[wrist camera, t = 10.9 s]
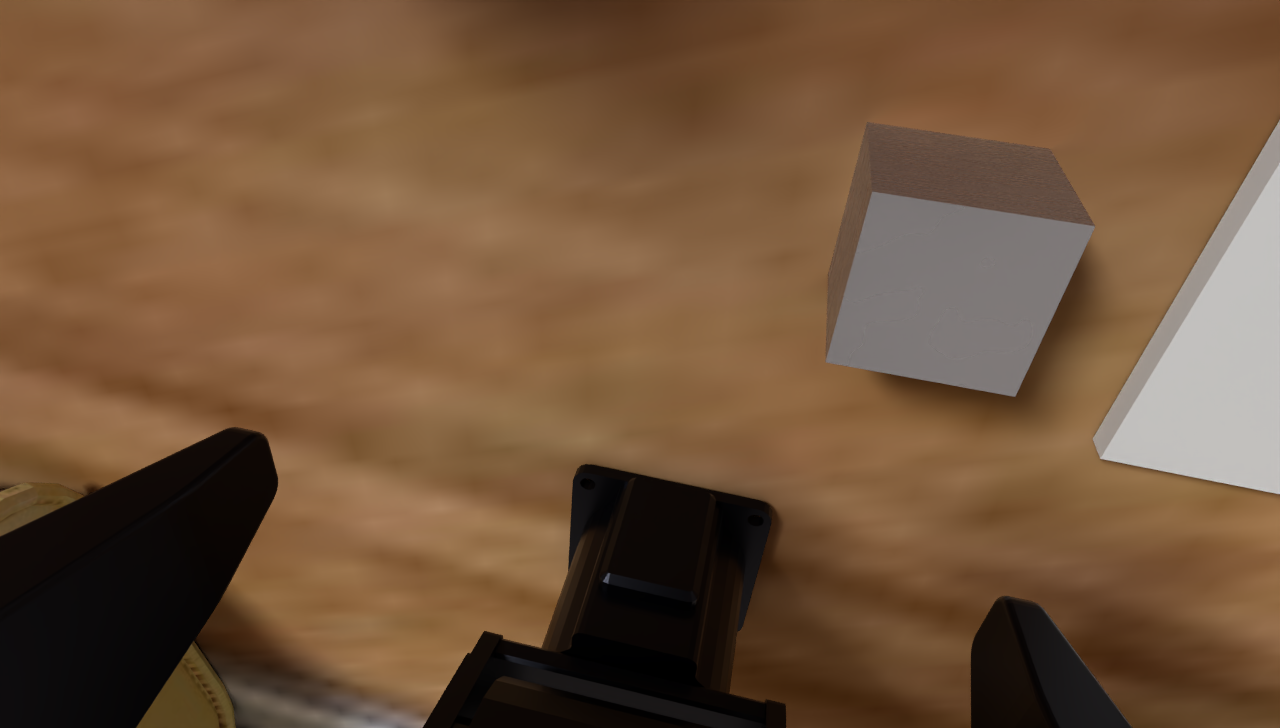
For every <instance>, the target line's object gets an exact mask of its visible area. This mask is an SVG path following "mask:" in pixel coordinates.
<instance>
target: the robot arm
mask: <svg viewBox="0 0 1280 728" xmlns="http://www.w3.org/2000/svg"><path fill="white" fill-rule="evenodd" d="M586 478H588V479H591V480H593V481H589V480H587V479H586ZM277 487H278V476H277V472H276V468H275V465H274V461H273V457H272V453H271V450H270V446H269V442H268V440H267V438H266V437H265V436H264V434H262V433H260V432H257V431H252V430H248V429H243V428H238V427H232V428H228V429H225V430H223V431H221V432H218V433H216V434H214V435H212V436H210V437H208V438H206V439H204V440H202V441H200V442H197V443H195V444H193V445H191V446H189V447H187V448H185V449H183V450H181V451H178V452H176V453H174V454H172V455H170V456H168V457H166V458H164V459H162V460H160V461H157V462H155V463H153V464H151V465H149V466H147V467H145V468H143V469H141V470H139V471H136V472H134V473H132V474H130V475H128V476H126V477H124V478H122V479H120V480H117V481H115V482H113V483H111V484H109V485H107V486H105V487H103V488H101V489H99V490H96V491H94V492H92V493H90V494H88V495H86V496H84V497H82V498H80V499H78V500H75V501H73V502H71V503H69V504H67V505H65V506H63V507H61V508H59V509H56V510H54V511H52V512H50V513H48V514H46V515H44V516H42V517H40V518H38V519H35V520H33V521H31V522H29V523H27V524H25V525H23V526H21V527H19V528H17V529H14V530H12V531H10V532H8V533H6V534H4V535H2V536H0V728H136V727H137V726H138V724H139V723H140V721H141V720H142V718H143V717H144V715H145V714H146V712H147V711H148V709H149V708H150V706H151V705H152V703H153V702H154V700H155V699H156V697H157V696H158V694H159V693H160V691H161V690H162V688H163V687H164V685H165V684H166V682H167V681H168V679H169V678H170V676H171V675H172V673H173V672H174V670H175V669H176V667H177V666H178V664H179V663H180V661H181V660H182V658H183V656H184V655H185V653H186V652H187V650H188V649H189V647H190V646H191V644H192V643H193V641H194V640H195V638H196V637H197V635H198V634H199V632H200V631H201V629H202V628H203V626H204V625H205V623H206V622H207V620H208V619H209V617H210V616H211V614H212V612H213V611H214V609H215V608H216V606H217V604H218V603H219V601H220V600H221V598H222V596H223V594H224V592H225V591H226V589H227V587H228V585H229V584H230V582H231V580H232V578H233V576H234V574H235V572H236V570H237V568H238V566H239V564H240V562H241V561H242V559H243V557H244V555H245V553H246V551H247V549H248V547H249V545H250V543H251V541H252V539H253V538H254V536H255V534H256V532H257V530H258V528H259V526H260V524H261V522H262V520H263V518H264V516H265V515H266V513H267V511H268V509H269V507H270V505H271V503H272V501H273V499H274V497H275V495H276V491H277ZM752 515H758V516H761V517H754V516H752ZM771 521H772V509H771V508H770V506H769V505H768V504H766V503H765V502H762V501H759V500H754V499H750V498H745V497H740V496H736V495H731V494H726V493H722V492H717V491H712V490H708V489H703V488H698V487H694V486H689V485H684V484H680V483H675V482H670V481H665V480H661V479H656V478H651V477H647V476H642V475H637V474H633V473H628V472H623V471H619V470H614V469H609V468H605V467H600V466H595V465H588V464H585V465H582V466H580V467H579V468H578V469H577V471H576V474H575V477H574V479H573V490H572V509H571V528H570V547H569V566H568V574H567V577H566V580H565V583H564V586H563V588H562V591H561V594H560V597H559V600H558V603H557V605H556V608H555V611H554V614H553V617H552V620H551V622H550V625H549V628H548V631H547V634H546V637H545V639H544V642H543V645H542V648H539V647H535V646H531V645H527V644H522V643H518V642H514V641H510V640H506V639H503V635H499V634H495V633H491V632H487V631H484V632H483V634H482V635H481V637H480V639H479V640H478V642H477V644H476V646H475V647H474V649H473V651H472V652H471V653H467V655H466V656H465V658H464V660H463V661H462V663H461V665H460V666H459V668H458V670H457V671H456V673H455V675H454V676H453V678H452V680H451V681H450V683H449V685H448V686H447V688H446V690H445V691H444V693H443V695H442V696H441V698H440V700H439V701H438V703H437V705H436V706H435V708H434V710H433V711H432V713H431V715H430V716H429V718H428V720H427V721H426V723H425V725H424V726H423V728H786V705H785V704H784V703H780V702H776V701H771V700H767V699H766V700H765V702H761V701H757V700H753V699H749V698H745V697H741V696H736V695H732V694H729V692H730V684H731V676H732V668H733V660H734V652H735V644H736V637H737V632H738V631H740V630H741V628H742V627H743V623H744V620H745V616H746V612H747V609H748V605H749V602H750V598H751V595H752V591H753V587H754V584H755V580H756V577H757V573H758V569H759V566H760V562H761V559H762V555H763V552H764V548H765V544H766V541H767V537H768V534H769V530H770V526H771ZM971 728H1132V726H1131V725H1130V724H1129V722H1128V721H1127V720H1126V718H1125V717H1124V716H1123V714H1122V713H1121V712H1120V710H1119V709H1118V708H1117V706H1116V705H1115V704H1114V702H1113V701H1112V700H1111V698H1110V697H1109V696H1108V694H1107V693H1106V692H1105V690H1104V689H1103V687H1102V686H1101V685H1100V683H1099V682H1098V681H1097V679H1096V678H1095V677H1094V675H1093V674H1092V673H1091V671H1090V670H1089V669H1088V667H1087V666H1086V665H1085V663H1084V662H1083V661H1082V659H1081V658H1080V657H1079V655H1078V654H1077V653H1076V651H1075V650H1074V649H1073V647H1072V646H1071V645H1070V643H1069V642H1068V641H1067V639H1066V638H1065V637H1064V635H1063V634H1062V633H1061V631H1060V630H1059V628H1058V627H1057V626H1056V624H1055V623H1054V622H1053V620H1052V619H1051V618H1050V616H1049V615H1048V614H1047V612H1046V611H1045V610H1044V609H1043V608H1042V607H1041V606H1040V605H1039V604H1037V603H1035V602H1032V601H1028V600H1023V599H1019V598H1014V597H1010V596H1002V597H1000V598H998V599H997V600H996V601H995V603H994V604H993V606H992V608H991V609H990V611H989V613H988V615H987V616H986V618H985V620H984V621H983V623H982V625H981V627H980V628H979V630H978V632H977V633H976V635H975V637H974V640H973V644H972V649H971Z"/></svg>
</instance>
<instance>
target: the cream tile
mask: <svg viewBox="0 0 1280 728" xmlns="http://www.w3.org/2000/svg"><path fill="white" fill-rule="evenodd" d="M1093 441H1094V444H1095V446H1096V449H1097V452H1098V454H1099V457H1100V459H1104V460H1109V461H1114V462H1119V463H1124V464H1129V465H1134V466H1140V467H1145V468H1150V469H1155V470H1160V471H1165V472H1170V473H1175V474H1180V475H1185V476H1190V477H1195V478H1200V479H1205V480H1210V481H1215V482H1220V483H1225V484H1230V485H1235V486H1240V487H1246V488H1251V489H1256V490H1261V491H1266V492H1271V493H1276V494H1280V120H1279V122H1278V124H1277V126H1276V127H1275V129H1274V131H1273V132H1272V134H1271V136H1270V137H1269V139H1268V141H1267V143H1266V144H1265V146H1264V148H1263V149H1262V151H1261V153H1260V155H1259V156H1258V158H1257V160H1256V161H1255V163H1254V165H1253V166H1252V168H1251V170H1250V172H1249V173H1248V175H1247V177H1246V178H1245V180H1244V182H1243V184H1242V185H1241V187H1240V189H1239V190H1238V192H1237V194H1236V195H1235V197H1234V199H1233V201H1232V202H1231V204H1230V206H1229V207H1228V209H1227V211H1226V213H1225V214H1224V216H1223V218H1222V219H1221V221H1220V223H1219V224H1218V226H1217V228H1216V230H1215V231H1214V233H1213V235H1212V236H1211V238H1210V240H1209V241H1208V243H1207V245H1206V247H1205V248H1204V250H1203V252H1202V253H1201V255H1200V257H1199V259H1198V260H1197V262H1196V264H1195V265H1194V267H1193V269H1192V270H1191V272H1190V274H1189V276H1188V277H1187V279H1186V281H1185V282H1184V284H1183V286H1182V288H1181V289H1180V291H1179V293H1178V294H1177V296H1176V298H1175V299H1174V301H1173V303H1172V305H1171V306H1170V308H1169V310H1168V311H1167V313H1166V315H1165V317H1164V318H1163V320H1162V322H1161V323H1160V325H1159V327H1158V328H1157V330H1156V332H1155V334H1154V335H1153V337H1152V339H1151V340H1150V342H1149V344H1148V345H1147V347H1146V349H1145V351H1144V352H1143V354H1142V356H1141V357H1140V359H1139V361H1138V363H1137V364H1136V366H1135V368H1134V369H1133V371H1132V373H1131V374H1130V376H1129V378H1128V380H1127V381H1126V383H1125V385H1124V386H1123V388H1122V390H1121V392H1120V393H1119V395H1118V397H1117V398H1116V400H1115V402H1114V403H1113V405H1112V407H1111V409H1110V410H1109V412H1108V414H1107V415H1106V417H1105V419H1104V421H1103V422H1102V424H1101V426H1100V427H1099V429H1098V431H1097V432H1096V434H1095V436H1094V438H1093Z"/></svg>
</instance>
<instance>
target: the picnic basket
mask: <svg viewBox="0 0 1280 728" xmlns="http://www.w3.org/2000/svg"><path fill="white" fill-rule="evenodd" d="M82 497H84V495H82V494H79V493H77V492H75V491H73V490H71V489H68V488H66V487H64V486H62V485H59V484H52V483H22V484H19V485H17V486H14V487H11V488H9V489H6V490H0V536H2V535H4V534H6V533H8V532H10V531H12V530H14V529H17V528H19V527H21V526H23V525H25V524H27V523H29V522H31V521H33V520H35V519H38V518H40V517H42V516H44V515H46V514H48V513H50V512H52V511H54V510H56V509H59V508H61V507H63V506H65V505H67V504H69V503H71V502H73V501H75V500H78V499H80V498H82ZM136 728H236V726H235V717H234V709H233V705H232V702H231V700H230V698H229V695H228V693H227V691H226V688H225V686H224V685H223V683H222V682H221V680H220V679H219V677H218V676H217V674H216V673H215V671H214V670H213V668H212V667H211V665H210V664H209V663H208V661H207V660H206V658H205V657H204V655H203V654H202V652H201V651H200V649H199V648H198V646H197V645H196V643H195V642H194V641H193V643H192V644H191V646H190V647H189V649H188V650H187V652H186V653H185V655H184V656H183V658H182V660H181V661H180V663H179V664H178V666H177V667H176V669H175V670H174V672H173V673H172V675H171V676H170V678H169V679H168V681H167V682H166V684H165V685H164V687H163V688H162V690H161V691H160V693H159V694H158V696H157V697H156V699H155V700H154V702H153V703H152V705H151V706H150V708H149V709H148V711H147V712H146V714H145V715H144V717H143V718H142V720H141V721H140V723H139V724H138V726H137V727H136Z"/></svg>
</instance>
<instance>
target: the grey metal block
mask: <svg viewBox="0 0 1280 728" xmlns="http://www.w3.org/2000/svg"><path fill="white" fill-rule="evenodd" d="M1094 228H1095V225H1094V223H1093V222H1092V220H1091V218H1090V216H1089V215H1088V213H1087V211H1086V210H1085V208H1084V206H1083V204H1082V203H1081V201H1080V199H1079V198H1078V196H1077V194H1076V192H1075V191H1074V189H1073V187H1072V185H1071V184H1070V182H1069V180H1068V179H1067V177H1066V175H1065V173H1064V172H1063V170H1062V168H1061V167H1060V165H1059V163H1058V161H1057V160H1056V158H1055V156H1054V155H1053V153H1052V151H1051V149H1048V148H1041V147H1034V146H1027V145H1020V144H1014V143H1007V142H1000V141H993V140H986V139H979V138H973V137H966V136H959V135H952V134H945V133H939V132H932V131H925V130H918V129H911V128H904V127H898V126H891V125H884V124H877V123H870V122H867V124H866V128H865V132H864V136H863V140H862V144H861V148H860V152H859V156H858V159H857V163H856V167H855V171H854V175H853V179H852V183H851V187H850V191H849V195H848V199H847V203H846V206H845V210H844V214H843V218H842V222H841V226H840V230H839V234H838V238H837V242H836V246H835V250H834V253H833V257H832V261H831V265H830V269H829V273H828V295H827V329H826V362H827V363H833V364H838V365H844V366H849V367H855V368H860V369H865V370H871V371H876V372H882V373H887V374H893V375H898V376H904V377H909V378H915V379H920V380H926V381H931V382H937V383H942V384H948V385H953V386H959V387H964V388H970V389H975V390H981V391H986V392H992V393H997V394H1002V395H1008V396H1013V397H1015V396H1016V394H1017V392H1018V390H1019V388H1020V386H1021V383H1022V381H1023V379H1024V377H1025V375H1026V373H1027V371H1028V369H1029V366H1030V364H1031V362H1032V360H1033V358H1034V356H1035V354H1036V352H1037V349H1038V347H1039V345H1040V343H1041V341H1042V339H1043V337H1044V335H1045V332H1046V330H1047V328H1048V326H1049V324H1050V322H1051V320H1052V317H1053V315H1054V313H1055V311H1056V309H1057V307H1058V305H1059V303H1060V300H1061V298H1062V296H1063V294H1064V292H1065V290H1066V288H1067V286H1068V283H1069V281H1070V279H1071V277H1072V275H1073V273H1074V271H1075V268H1076V266H1077V264H1078V262H1079V260H1080V258H1081V256H1082V254H1083V251H1084V249H1085V247H1086V245H1087V243H1088V241H1089V239H1090V237H1091V234H1092V232H1093V230H1094Z"/></svg>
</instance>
